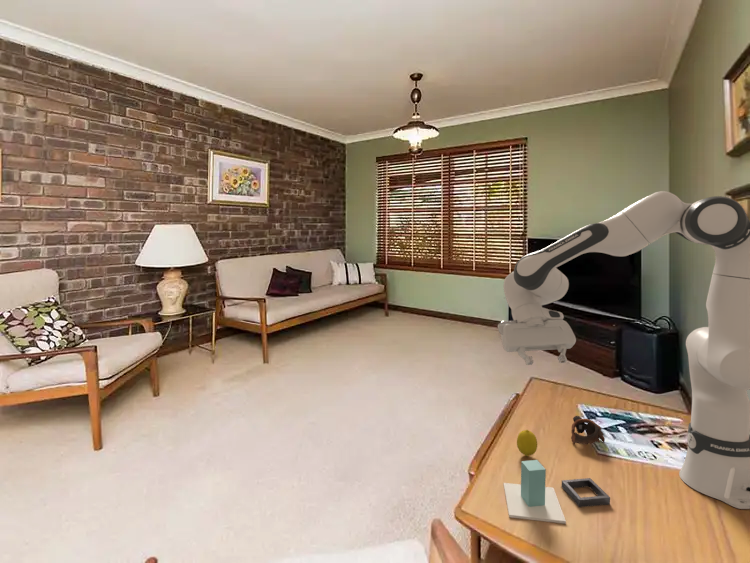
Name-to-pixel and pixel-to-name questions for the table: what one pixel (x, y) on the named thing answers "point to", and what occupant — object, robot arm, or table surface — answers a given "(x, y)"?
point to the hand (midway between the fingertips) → (546, 362)
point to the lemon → (527, 442)
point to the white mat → (540, 513)
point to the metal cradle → (585, 501)
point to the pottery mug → (591, 430)
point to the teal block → (533, 483)
